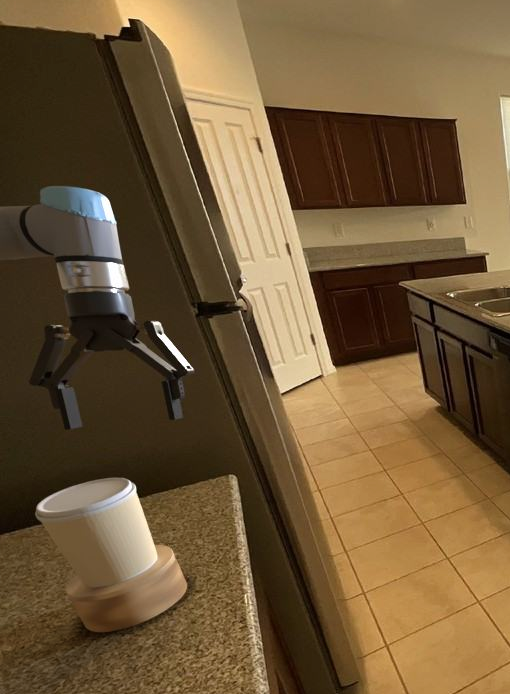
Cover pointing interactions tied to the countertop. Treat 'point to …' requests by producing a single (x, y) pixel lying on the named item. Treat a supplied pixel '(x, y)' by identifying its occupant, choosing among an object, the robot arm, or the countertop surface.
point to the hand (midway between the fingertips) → (126, 423)
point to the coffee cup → (100, 530)
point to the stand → (129, 595)
